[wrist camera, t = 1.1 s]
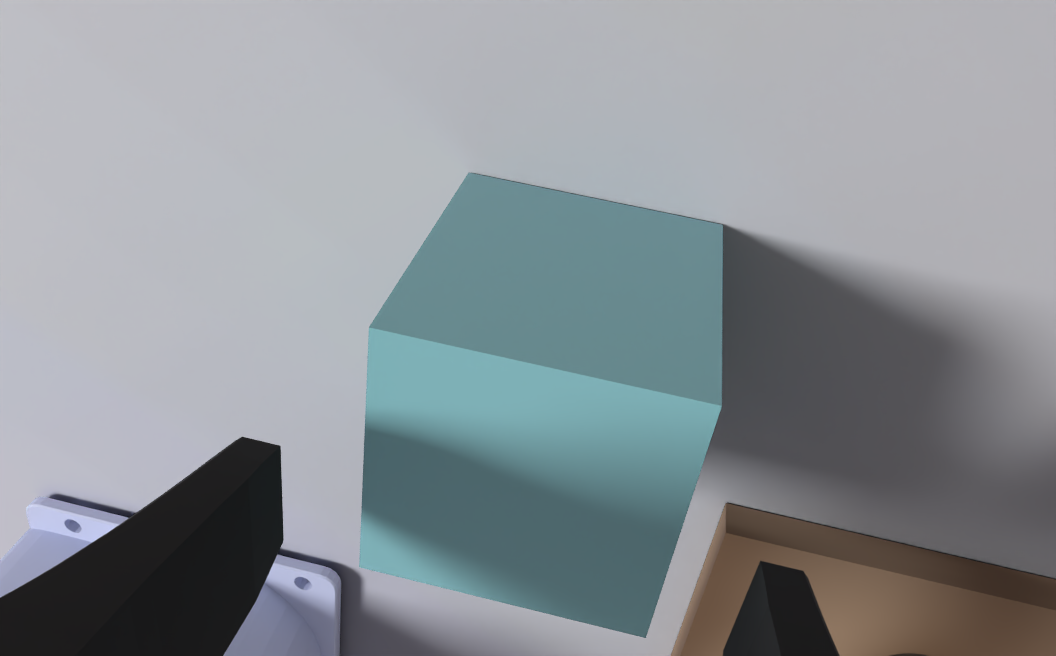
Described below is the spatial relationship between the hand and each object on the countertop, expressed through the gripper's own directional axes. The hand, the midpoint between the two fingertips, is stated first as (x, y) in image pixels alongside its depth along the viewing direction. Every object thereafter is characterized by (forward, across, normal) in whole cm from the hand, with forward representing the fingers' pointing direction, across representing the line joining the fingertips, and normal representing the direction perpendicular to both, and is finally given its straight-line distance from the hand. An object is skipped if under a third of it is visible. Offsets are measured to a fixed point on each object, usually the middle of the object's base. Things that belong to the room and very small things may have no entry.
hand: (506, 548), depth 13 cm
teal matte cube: (+7, 0, 0) cm, 7 cm away
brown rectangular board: (+7, -10, +8) cm, 15 cm away
